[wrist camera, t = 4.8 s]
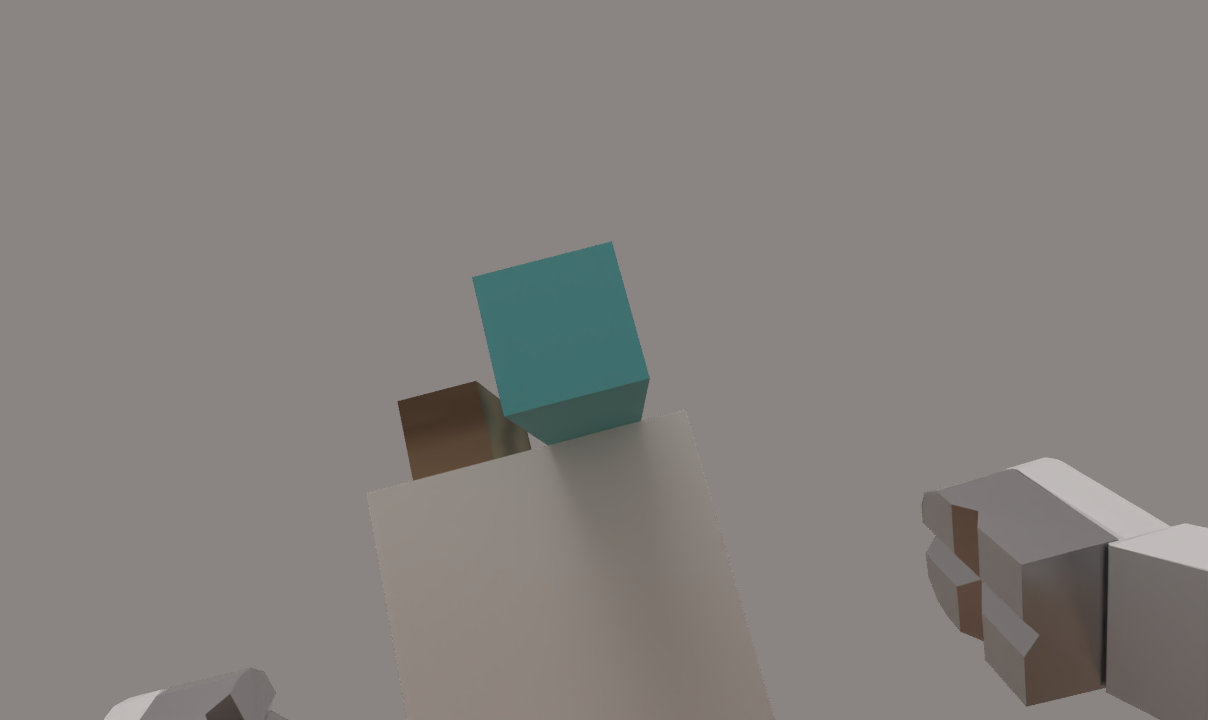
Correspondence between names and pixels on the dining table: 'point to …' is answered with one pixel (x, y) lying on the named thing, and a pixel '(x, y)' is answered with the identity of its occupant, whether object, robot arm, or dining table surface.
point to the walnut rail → (457, 430)
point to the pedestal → (568, 586)
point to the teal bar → (564, 344)
